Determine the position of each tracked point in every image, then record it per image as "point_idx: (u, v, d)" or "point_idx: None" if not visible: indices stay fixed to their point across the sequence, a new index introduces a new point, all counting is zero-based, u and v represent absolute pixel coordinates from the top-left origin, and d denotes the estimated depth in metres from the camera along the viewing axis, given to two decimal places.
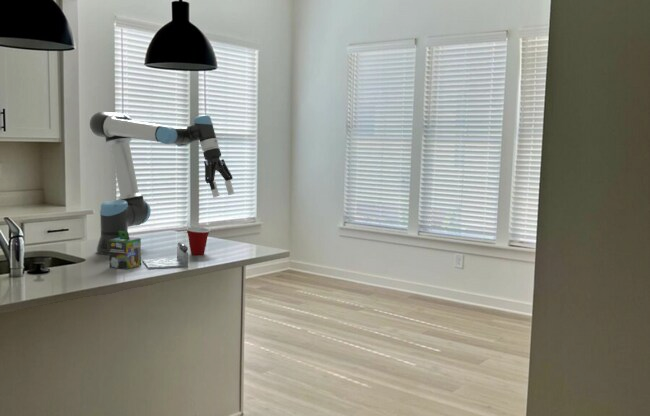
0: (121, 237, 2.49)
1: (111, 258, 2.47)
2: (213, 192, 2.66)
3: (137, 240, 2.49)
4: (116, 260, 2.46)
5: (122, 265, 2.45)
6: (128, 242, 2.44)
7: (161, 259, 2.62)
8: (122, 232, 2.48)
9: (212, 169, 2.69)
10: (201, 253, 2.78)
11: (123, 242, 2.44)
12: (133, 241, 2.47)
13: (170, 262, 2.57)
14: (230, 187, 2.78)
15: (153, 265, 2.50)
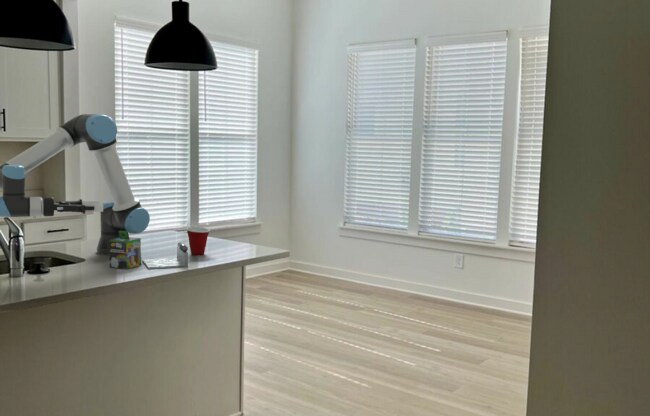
0: (121, 237, 2.49)
1: (111, 258, 2.47)
2: None
3: (137, 240, 2.49)
4: (116, 260, 2.46)
5: (122, 265, 2.45)
6: (128, 242, 2.44)
7: (161, 259, 2.62)
8: (122, 232, 2.48)
9: None
10: (201, 253, 2.78)
11: (123, 242, 2.44)
12: (133, 241, 2.47)
13: (170, 262, 2.57)
14: None
15: (153, 265, 2.50)
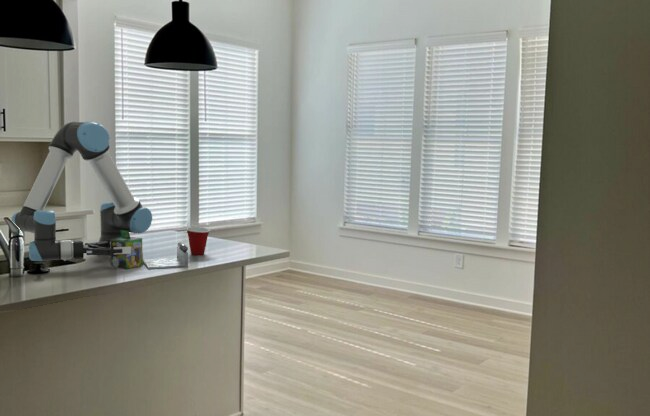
0: (123, 237, 2.50)
1: (112, 257, 2.48)
2: None
3: (138, 240, 2.49)
4: (117, 260, 2.47)
5: (122, 265, 2.45)
6: (128, 242, 2.44)
7: (161, 259, 2.62)
8: (123, 231, 2.48)
9: None
10: (201, 253, 2.78)
11: (123, 242, 2.44)
12: (133, 241, 2.47)
13: (170, 262, 2.57)
14: None
15: (153, 265, 2.50)
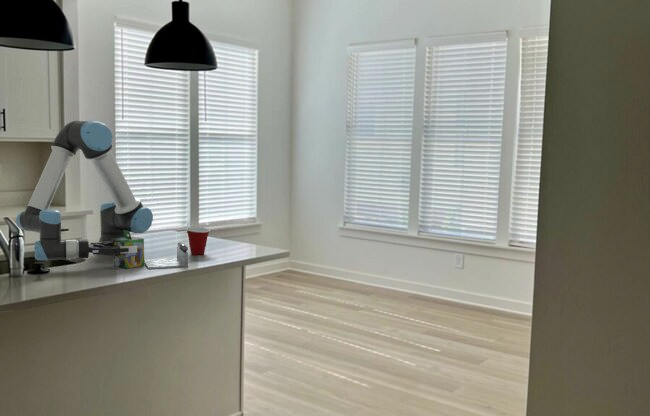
0: (125, 236, 2.50)
1: (114, 257, 2.49)
2: None
3: (139, 240, 2.48)
4: (118, 260, 2.48)
5: (122, 265, 2.46)
6: (127, 242, 2.44)
7: (161, 259, 2.62)
8: (125, 231, 2.49)
9: None
10: (201, 253, 2.78)
11: (122, 242, 2.44)
12: (134, 241, 2.47)
13: (170, 262, 2.57)
14: None
15: (153, 265, 2.50)
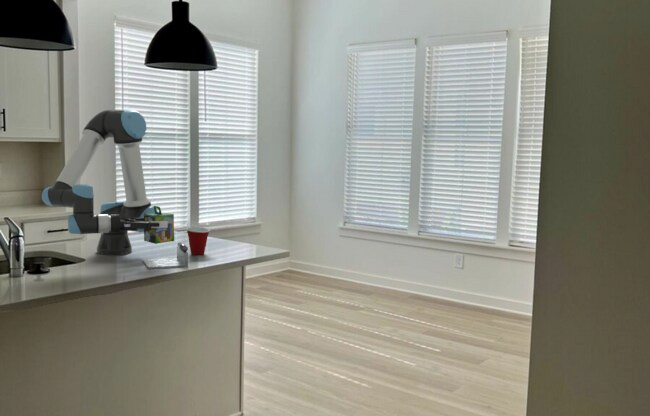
0: (156, 212, 2.53)
1: (145, 232, 2.53)
2: None
3: (169, 216, 2.52)
4: (148, 235, 2.51)
5: (152, 239, 2.49)
6: (158, 217, 2.48)
7: (161, 259, 2.62)
8: (155, 207, 2.52)
9: None
10: (201, 253, 2.78)
11: (153, 216, 2.48)
12: (164, 216, 2.50)
13: (170, 262, 2.57)
14: None
15: (153, 265, 2.50)
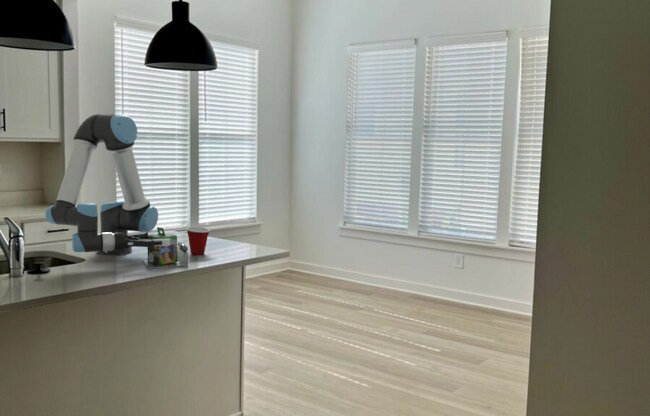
0: (159, 233, 2.56)
1: (148, 253, 2.55)
2: None
3: (172, 237, 2.54)
4: (152, 256, 2.53)
5: (156, 261, 2.51)
6: (161, 238, 2.50)
7: None
8: (159, 228, 2.54)
9: None
10: (201, 253, 2.78)
11: (156, 238, 2.50)
12: (167, 238, 2.52)
13: None
14: None
15: (153, 265, 2.50)
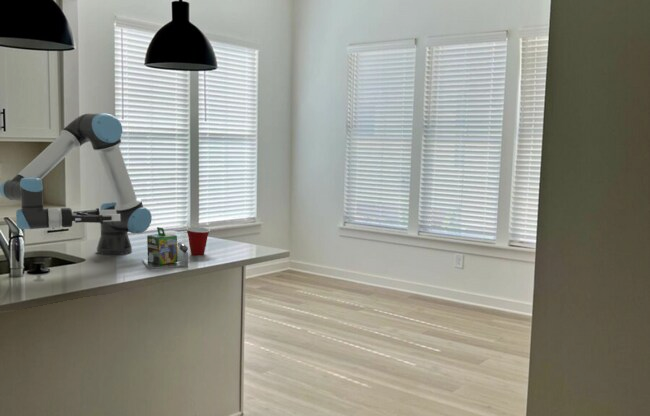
0: (159, 233, 2.56)
1: (148, 253, 2.55)
2: None
3: (172, 237, 2.54)
4: (152, 256, 2.53)
5: (156, 261, 2.51)
6: (161, 238, 2.50)
7: None
8: (159, 228, 2.54)
9: None
10: (201, 253, 2.78)
11: (156, 238, 2.50)
12: (167, 238, 2.52)
13: None
14: None
15: (153, 265, 2.50)
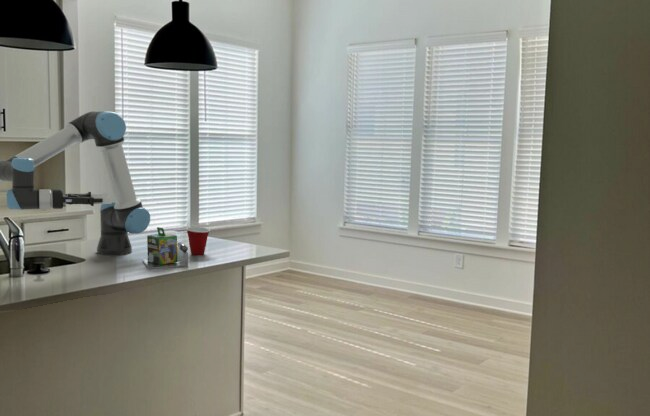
0: (159, 233, 2.56)
1: (148, 253, 2.55)
2: None
3: (172, 237, 2.54)
4: (152, 256, 2.53)
5: (156, 261, 2.51)
6: (161, 238, 2.50)
7: None
8: (159, 228, 2.54)
9: None
10: (201, 253, 2.78)
11: (156, 238, 2.50)
12: (167, 238, 2.52)
13: None
14: None
15: (153, 265, 2.50)
